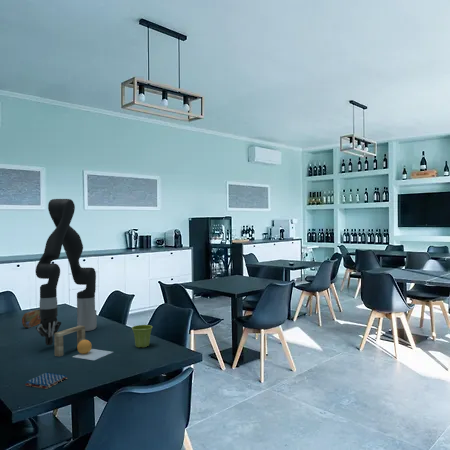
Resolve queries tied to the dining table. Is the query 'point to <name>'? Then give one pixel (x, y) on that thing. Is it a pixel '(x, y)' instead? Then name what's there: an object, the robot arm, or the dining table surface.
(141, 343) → the plant pot
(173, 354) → the dining table surface
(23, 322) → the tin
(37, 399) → the dining table surface
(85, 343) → the ball
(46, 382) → the woven mat
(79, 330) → the bridge
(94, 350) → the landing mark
